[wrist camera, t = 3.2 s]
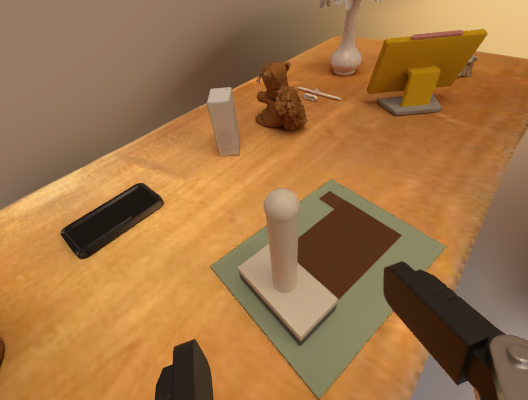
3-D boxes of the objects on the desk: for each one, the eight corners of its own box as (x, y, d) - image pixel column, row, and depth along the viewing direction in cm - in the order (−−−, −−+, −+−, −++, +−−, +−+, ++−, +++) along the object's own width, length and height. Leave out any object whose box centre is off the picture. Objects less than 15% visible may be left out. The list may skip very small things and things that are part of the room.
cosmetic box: (221, 141, 60) (210, 88, 52) (240, 139, 60) (232, 86, 51) (219, 157, 56) (206, 102, 47) (239, 155, 56) (229, 100, 47)
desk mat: (210, 267, 38) (210, 266, 37) (331, 180, 48) (331, 178, 48) (318, 400, 26) (319, 399, 26) (445, 247, 37) (446, 246, 37)
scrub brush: (240, 278, 36) (212, 178, 23) (274, 252, 38) (264, 149, 26) (300, 346, 29) (306, 259, 17) (335, 309, 32) (363, 210, 19)
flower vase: (321, 61, 90) (328, -37, 72) (377, 68, 82) (401, -41, 65) (305, 76, 82) (308, -30, 64) (365, 84, 75) (388, -33, 57)
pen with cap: (341, 100, 70) (342, 92, 68) (332, 106, 67) (333, 98, 66) (297, 88, 77) (298, 80, 75) (288, 93, 75) (288, 86, 73)
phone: (58, 231, 43) (140, 181, 50) (62, 235, 44) (143, 185, 51) (77, 257, 39) (164, 199, 46) (81, 261, 40) (166, 203, 47)
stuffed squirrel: (284, 106, 70) (283, 50, 60) (319, 128, 61) (324, 68, 51) (251, 118, 66) (244, 61, 57) (282, 143, 58) (280, 82, 48)
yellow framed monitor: (443, 95, 67) (473, 22, 56) (460, 110, 62) (498, 31, 50) (363, 102, 68) (378, 31, 56) (374, 118, 62) (392, 42, 51)
